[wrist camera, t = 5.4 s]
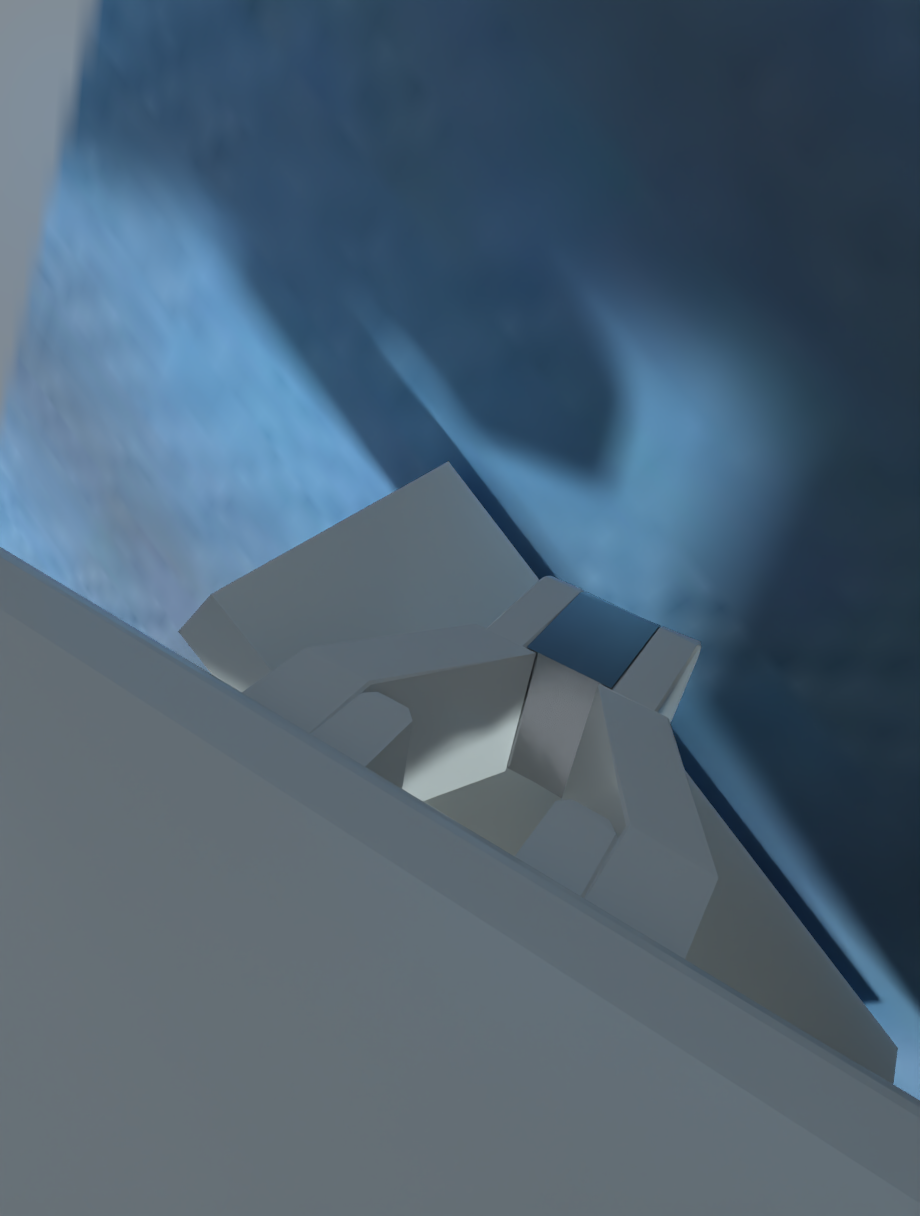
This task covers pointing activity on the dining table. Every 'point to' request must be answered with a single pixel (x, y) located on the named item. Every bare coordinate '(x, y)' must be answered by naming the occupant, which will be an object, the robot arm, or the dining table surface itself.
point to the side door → (506, 802)
